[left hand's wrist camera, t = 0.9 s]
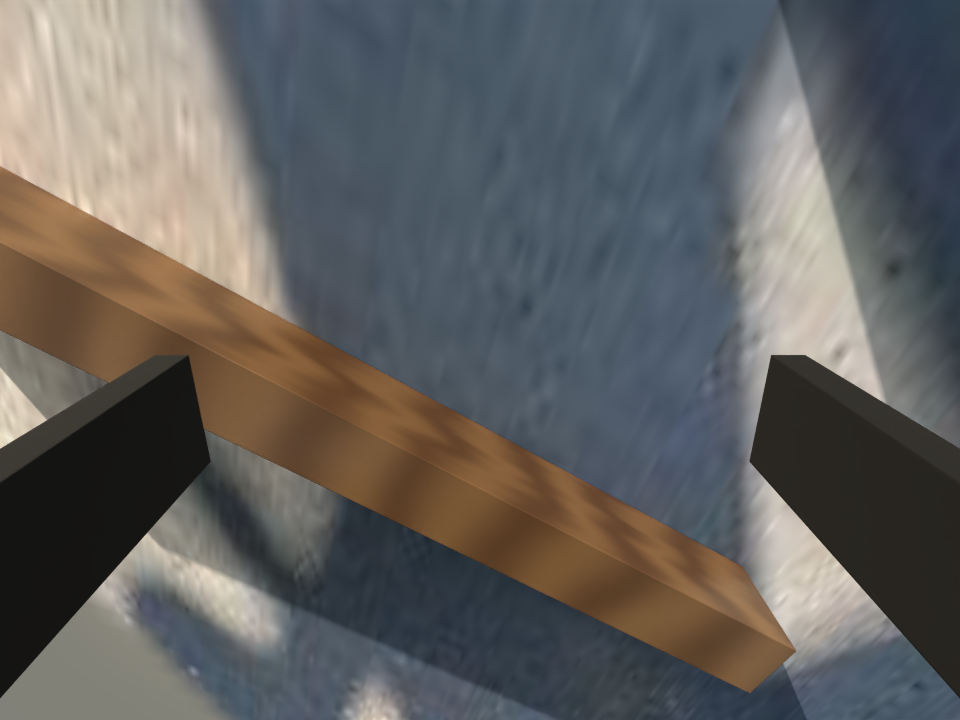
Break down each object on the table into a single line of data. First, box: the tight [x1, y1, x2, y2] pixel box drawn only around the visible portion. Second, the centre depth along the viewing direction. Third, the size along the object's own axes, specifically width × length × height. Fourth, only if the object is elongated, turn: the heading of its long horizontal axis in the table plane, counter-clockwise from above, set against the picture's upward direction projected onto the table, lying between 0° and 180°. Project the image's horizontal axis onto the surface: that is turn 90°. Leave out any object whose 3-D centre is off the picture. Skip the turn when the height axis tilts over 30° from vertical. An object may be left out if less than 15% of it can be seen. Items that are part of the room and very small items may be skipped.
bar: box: [0, 167, 796, 693], centre depth 36 cm, size 74×5×8 cm, turn 59°
